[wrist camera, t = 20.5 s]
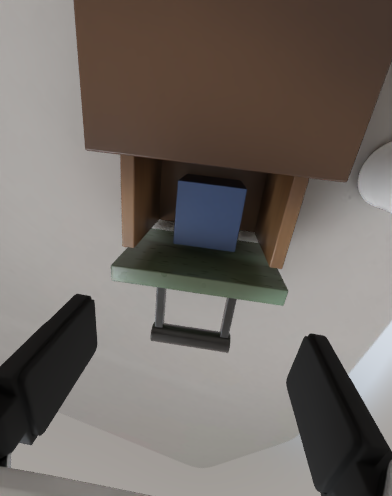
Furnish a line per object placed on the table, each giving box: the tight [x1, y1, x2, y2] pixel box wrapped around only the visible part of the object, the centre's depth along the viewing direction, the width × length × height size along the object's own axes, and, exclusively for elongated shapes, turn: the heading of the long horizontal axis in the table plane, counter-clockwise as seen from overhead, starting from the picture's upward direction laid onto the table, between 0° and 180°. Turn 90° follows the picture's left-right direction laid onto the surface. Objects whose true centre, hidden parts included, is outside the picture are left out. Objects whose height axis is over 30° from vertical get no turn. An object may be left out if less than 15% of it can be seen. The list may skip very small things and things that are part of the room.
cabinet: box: [74, 0, 392, 182], centre depth 12 cm, size 15×13×10 cm
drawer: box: [111, 155, 309, 353], centre depth 17 cm, size 19×11×8 cm, turn 174°
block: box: [173, 174, 247, 252], centre depth 17 cm, size 4×4×4 cm
